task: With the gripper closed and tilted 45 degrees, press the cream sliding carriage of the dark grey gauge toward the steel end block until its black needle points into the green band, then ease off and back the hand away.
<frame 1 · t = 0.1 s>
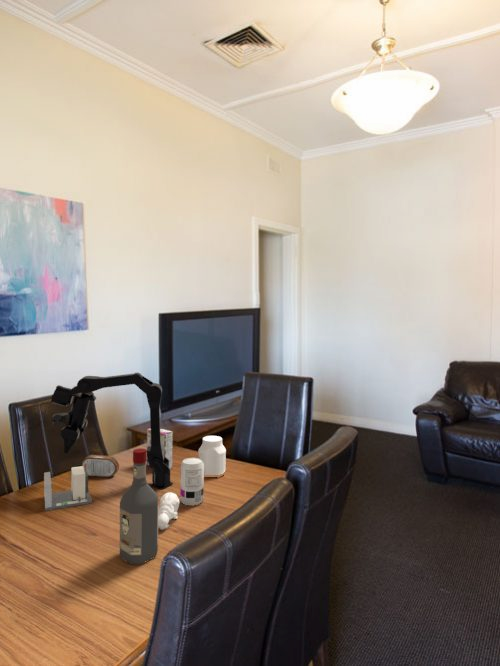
hand: (68, 449, 168), 15 cm above the table, tool pointing down, fingers open, 9 cm apart
tin: (99, 476, 182), on the table
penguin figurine: (166, 524, 144), on the table
jar: (211, 474, 188), on the table
candy bar box: (159, 467, 193), on the table
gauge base: (67, 500, 159), on the table
carriage: (80, 483, 160), point 6 cm above the table, slide at 0.0 cm
liquor: (139, 555, 126), on the table
supplement can: (191, 502, 160), on the table
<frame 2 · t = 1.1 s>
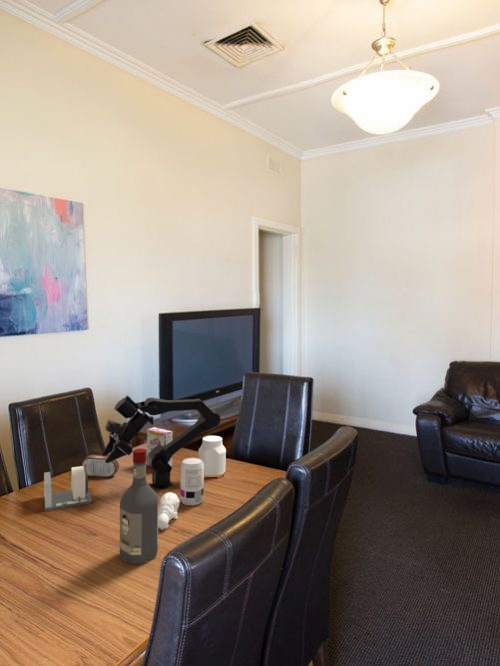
hand: (104, 458, 164), 13 cm above the table, tool tilted 45°, fingers open, 8 cm apart
nothing on the table moved.
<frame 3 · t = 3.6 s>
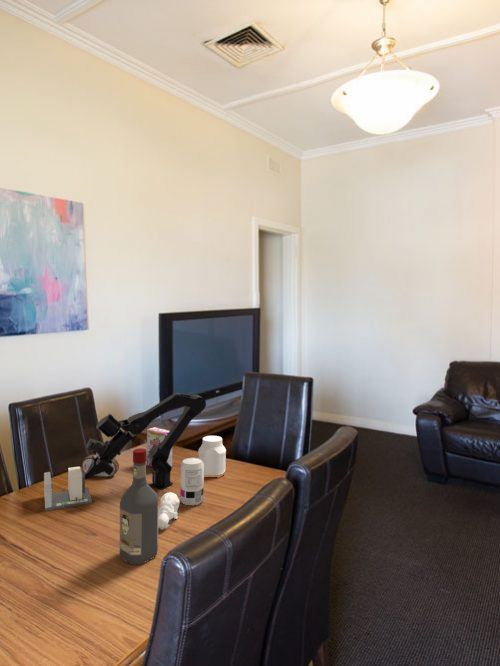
hand: (84, 478, 162), 7 cm above the table, tool tilted 45°, fingers closed, pressing on carriage
carriage: (76, 484, 159), point 6 cm above the table, slide at 1.1 cm, touching gripper
everything else where it was.
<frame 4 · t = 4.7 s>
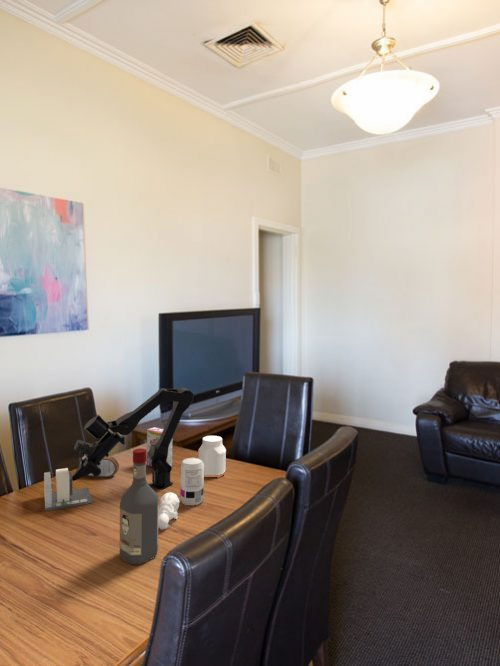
hand: (72, 479, 160), 7 cm above the table, tool tilted 45°, fingers closed, pressing on carriage
carriage: (64, 486, 157), point 6 cm above the table, slide at 5.2 cm, touching gripper
everything else where it was.
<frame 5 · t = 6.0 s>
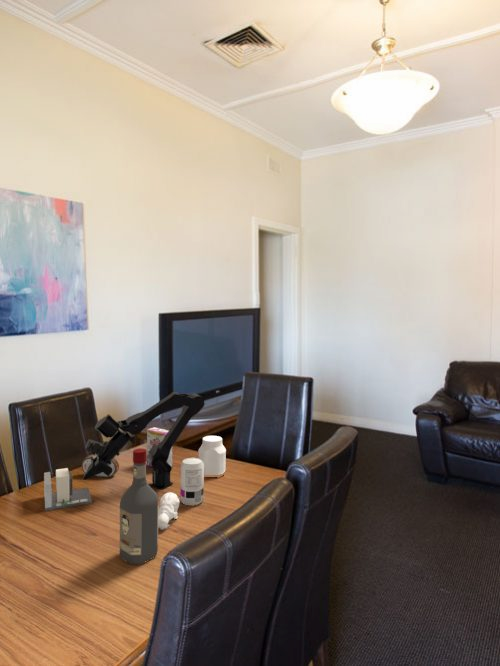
hand: (83, 478, 161), 7 cm above the table, tool tilted 45°, fingers closed
carriage: (64, 486, 157), point 6 cm above the table, slide at 5.2 cm
everything else where it was.
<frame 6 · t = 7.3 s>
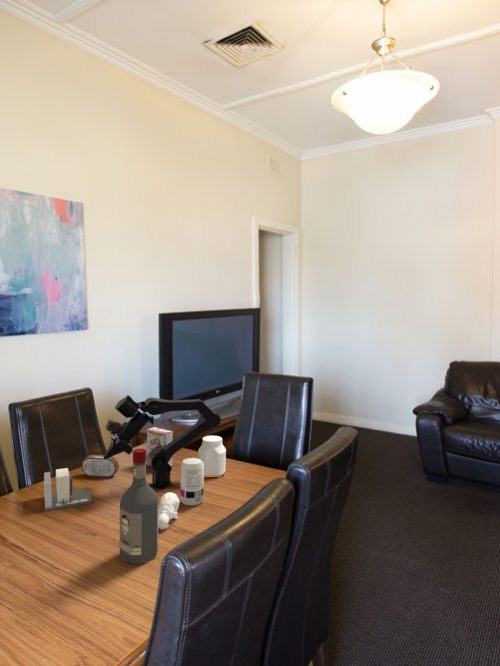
hand: (104, 458, 164), 13 cm above the table, tool tilted 45°, fingers closed
nothing on the table moved.
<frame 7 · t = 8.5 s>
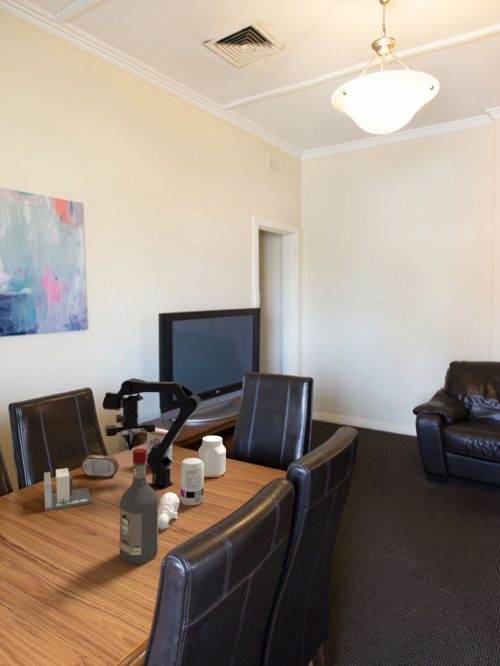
hand: (130, 450, 175), 13 cm above the table, tool pointing down, fingers closed
nothing on the table moved.
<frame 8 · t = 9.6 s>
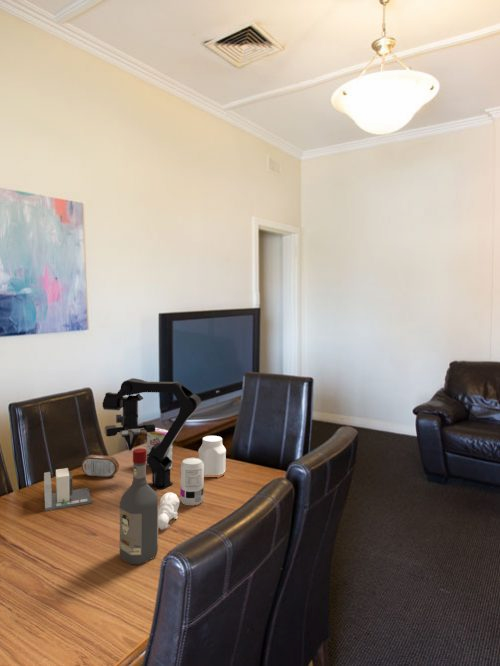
hand: (130, 450, 175), 13 cm above the table, tool pointing down, fingers closed
nothing on the table moved.
at the end: carriage slide at 5.2 cm; the gripper is holding nothing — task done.
